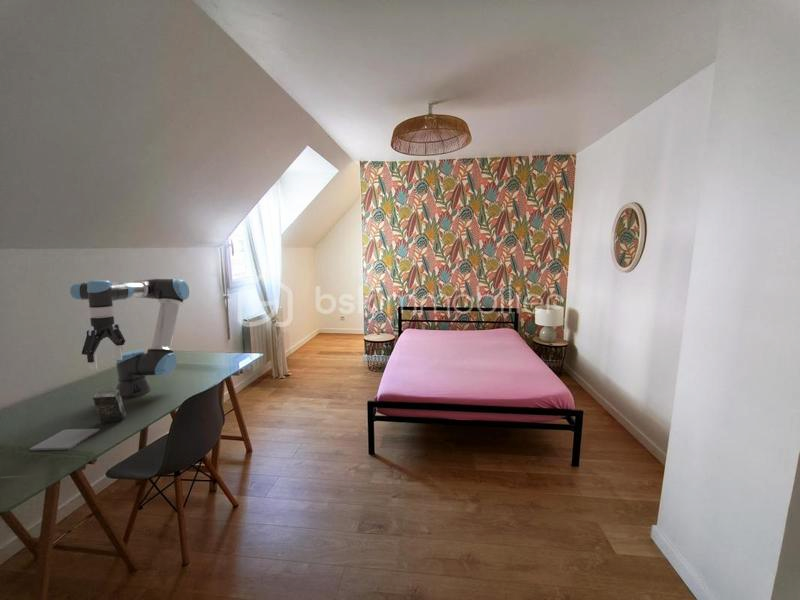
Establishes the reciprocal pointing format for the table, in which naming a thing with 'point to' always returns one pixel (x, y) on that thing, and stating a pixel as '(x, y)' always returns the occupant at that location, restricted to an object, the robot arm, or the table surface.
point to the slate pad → (65, 439)
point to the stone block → (109, 405)
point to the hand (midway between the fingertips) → (106, 364)
